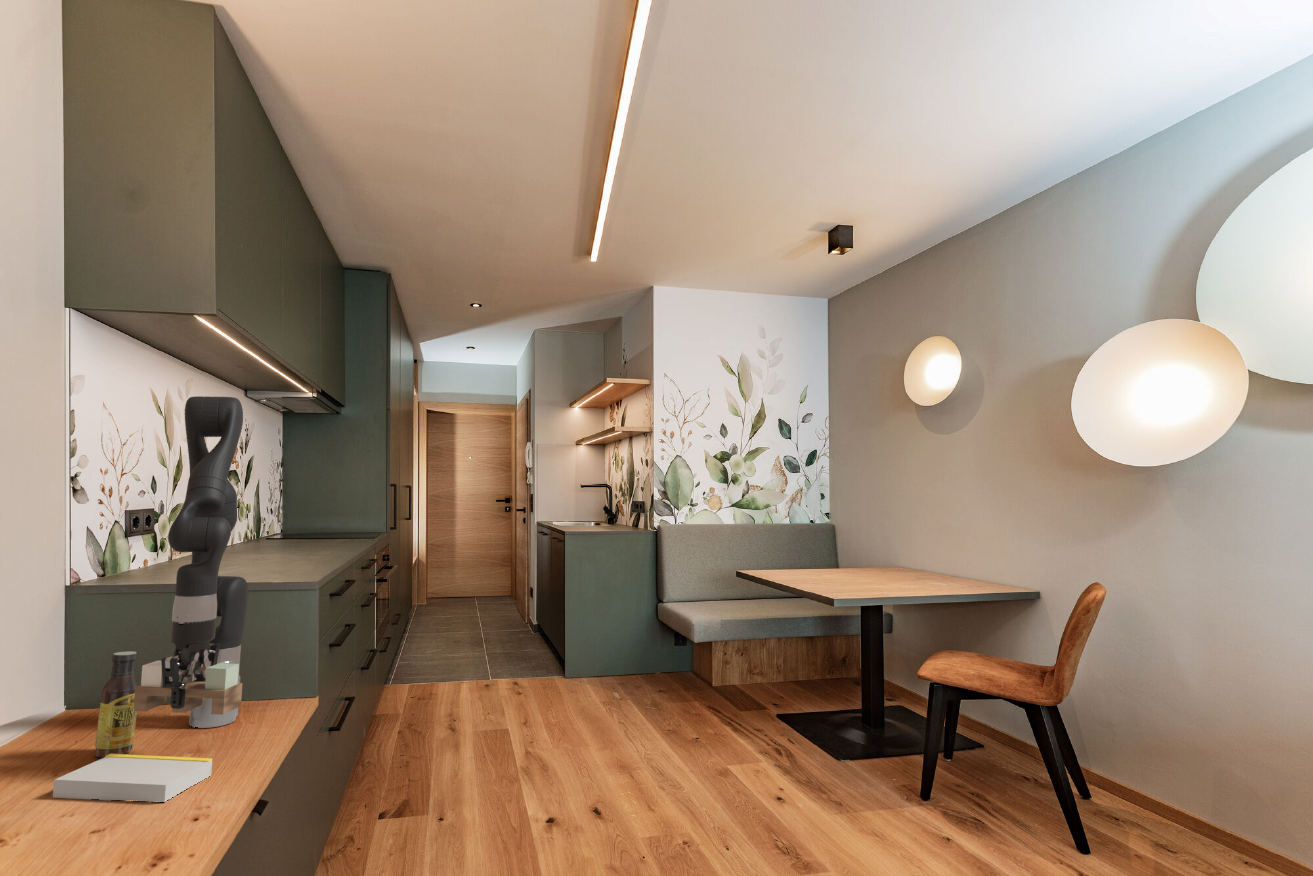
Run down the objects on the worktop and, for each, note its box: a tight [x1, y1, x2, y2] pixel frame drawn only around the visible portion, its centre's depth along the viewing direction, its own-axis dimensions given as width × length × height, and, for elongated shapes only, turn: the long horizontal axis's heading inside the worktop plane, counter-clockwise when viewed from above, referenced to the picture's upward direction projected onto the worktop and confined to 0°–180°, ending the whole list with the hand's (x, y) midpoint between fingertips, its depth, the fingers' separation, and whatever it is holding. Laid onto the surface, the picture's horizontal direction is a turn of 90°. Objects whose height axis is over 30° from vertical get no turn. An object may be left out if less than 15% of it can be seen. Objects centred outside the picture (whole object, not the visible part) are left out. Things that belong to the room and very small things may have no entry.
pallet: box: [133, 680, 243, 715], centre depth 142 cm, size 6×18×4 cm, turn 88°
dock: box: [52, 753, 213, 802], centre depth 129 cm, size 12×20×3 cm, turn 87°
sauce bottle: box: [94, 651, 138, 759], centre depth 145 cm, size 6×6×20 cm
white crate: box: [140, 660, 172, 687], centre depth 143 cm, size 4×4×4 cm
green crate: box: [205, 663, 240, 690], centre depth 142 cm, size 4×4×4 cm
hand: (188, 702), depth 142 cm, fingers closed on pallet, 5 cm apart
